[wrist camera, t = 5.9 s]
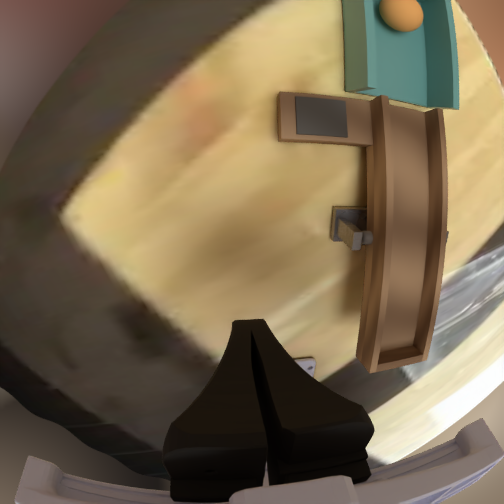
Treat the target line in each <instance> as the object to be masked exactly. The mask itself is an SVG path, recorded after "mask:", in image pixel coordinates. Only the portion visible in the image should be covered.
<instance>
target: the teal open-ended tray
mask: <svg viewBox="0 0 504 504" xmlns="http://www.w3.org/2000/svg"><path fill="white" fill-rule="evenodd" d="M380 1H381V0H342V6H343V22H344V46H345V91H346V92H353V93H359V94H366V95H371V96H377V97H378V96H380V95H385V96H388V99H392V100H397V101H402V102H406V103H411V104H415V105H419V106H423V107H427V108H434V109H436V108H439V109H454V110H459V70H458V54H457V43H456V33H455V25H454V18H453V12H452V6H451V0H416V1H417V2H418V3H419V4H420V6H421V8H422V11H423V21H422V24H421V25H420V27H419V28H417V29H416V30H414V31H410V32H402V31H398V30H395V29H393V28H391V27H390V26H389V25H387V24H386V23H385V21H384V20H383V19H382V17H381V15H380V11H379V4H380Z"/></svg>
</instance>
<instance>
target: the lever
mask: <svg viewBox="0 0 504 504" xmlns="http://www.w3.org/2000/svg"><path fill="white" fill-rule="evenodd" d="M277 109H278V142H303V143H322V144H337V145H350V146H360V147H366V155H367V231H362V232H363V234H362V242H361V244H362V245H366V259H365V275H364V288H363V299H362V309H361V319H360V327H359V335H358V343H357V350H356V357H357V358H358V359H359V361H360V362H361V363H362V364H363V366H364V367H365V368H366V369H367V371H368V372H369V373H373V372H378V371H383V370H388V369H392V368H397V367H401V366H405V365H409V364H413V363H417V362H421V361H425V360H427V357H428V353H429V349H430V344H431V340H432V335H433V331H434V326H435V321H436V315H437V310H438V304H439V298H440V291H441V284H442V276H443V268H444V258H445V247H446V233H447V211H448V173H447V151H446V137H445V126H444V117H443V109H439V108H436V109H433V110H430V111H427V112H421V111H416V110H412V109H407V108H403V107H398V106H393V105H389V100H388V96H385V95H380V96H378V97H376V98H375V99H373V100H371V101H365V100H358V99H351V98H344V97H336V96H327V95H317V94H306V93H292V92H279V94H278V96H277Z"/></svg>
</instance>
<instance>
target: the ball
mask: <svg viewBox="0 0 504 504" xmlns="http://www.w3.org/2000/svg"><path fill="white" fill-rule="evenodd" d="M379 11H380V15H381V17H382V19H383V20H384V21H385V23H386V24H387V25H389V26H390V27H391V28H393V29H395V30H398V31H402V32H410V31H414V30H416V29H417V28H419V27H420V25H421V24H422V21H423V11H422V8H421V6H420V4H419V3H418V2H417V1H416V0H381V1H380V4H379Z"/></svg>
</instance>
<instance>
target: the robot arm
mask: <svg viewBox="0 0 504 504" xmlns="http://www.w3.org/2000/svg"><path fill="white" fill-rule="evenodd" d="M315 365H316V361H315V359H313V358H307V359H298V360H294V359H293V358H292V357H291V356H290V355H289V354H288V353H287V352H286V350H285V349H284V348H283V347H282V345H281V344H280V343H279V342H278V340H277V339H276V337H275V336H274V335H273V333H272V332H271V330H270V328H269V327H268V325H267V323H266V321H265V320H264V319H251V320H235V321H233V322H232V331H231V335H230V338H229V342H228V344H227V347H226V350H225V352H224V355H223V357H222V359H221V361H220V363H219V365H218V367H217V369H216V371H215V373H214V374H213V376H212V377H211V379H210V381H209V382H208V384H207V385H206V386H205V388H204V389H203V391H202V392H201V393H200V395H199V396H198V397H197V398H196V399H195V400H194V402H193V403H192V404H191V405H190V406H189V407H188V408H187V409H186V410H185V411H184V412H183V413H182V414H181V415H180V416H179V417H178V418H177V419H176V420H175V421H173V422H172V423H171V425H170V428H169V430H168V433H167V435H166V438H165V442H164V446H163V454H162V462H163V465H164V467H165V469H166V470H167V472H168V474H169V476H170V477H171V486H170V491H160V490H149V489H141V488H134V487H127V486H120V485H114V484H108V483H104V482H99V481H94V480H90V479H85V478H81V477H77V476H73V475H69V474H65V473H63V472H62V471H61V469H60V468H58V467H57V466H56V465H55V464H53V463H51V462H48V461H45V460H42V459H39V458H36V457H33V456H28V459H27V462H26V465H25V468H24V471H23V474H22V477H21V480H20V483H19V487H18V490H17V494H16V497H15V503H16V504H439V503H441V502H442V501H444V500H446V499H448V498H450V497H451V496H453V495H455V494H457V493H458V492H460V491H462V490H463V489H465V488H467V487H468V486H470V485H472V484H473V483H475V482H476V481H478V480H479V479H480V478H481V477H482V476H483V475H485V474H486V473H487V472H488V471H489V470H490V469H491V468H492V467H494V466H495V465H496V464H497V463H498V462H499V461H500V460H501V459H502V458H503V457H504V451H503V450H502V448H501V447H500V445H499V443H498V442H497V440H496V438H495V437H494V435H493V434H492V432H491V431H490V429H489V428H488V426H487V425H486V423H485V421H484V420H483V418H480V419H479V420H477V421H475V422H473V423H471V424H469V425H467V426H466V427H464V428H463V429H461V430H460V431H459V432H458V434H457V435H456V437H455V438H454V439H452V440H450V441H447V442H445V443H443V444H441V445H438V446H436V447H434V448H432V449H429V450H427V451H424V452H422V453H419V454H417V455H414V456H411V457H409V458H406V459H403V460H400V461H398V462H395V463H392V464H389V465H386V466H382V467H379V468H376V469H373V470H370V469H369V466H368V463H367V461H366V459H367V458H368V454H367V452H366V449H365V448H366V446H367V444H368V443H369V441H370V439H371V438H372V436H373V434H374V431H375V430H374V426H373V424H372V421H371V419H370V417H369V416H368V414H367V413H366V411H365V409H364V408H363V406H361V405H359V404H357V403H355V402H352V401H350V400H348V399H346V398H344V397H342V396H340V395H338V394H337V393H335V392H333V391H331V390H330V389H328V388H327V387H325V386H324V385H323V384H321V383H320V382H318V381H317V380H316V379H314V378H313V375H314V370H315ZM309 366H311V367H309Z"/></svg>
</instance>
